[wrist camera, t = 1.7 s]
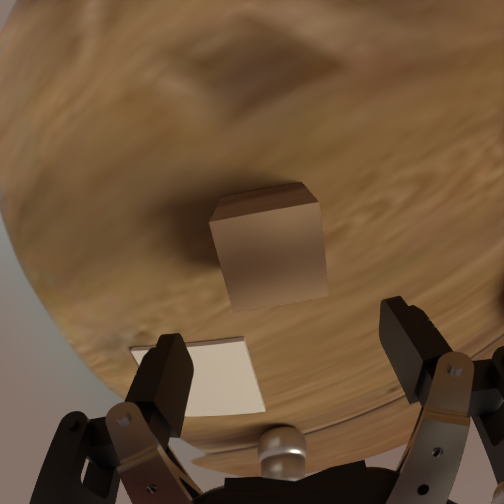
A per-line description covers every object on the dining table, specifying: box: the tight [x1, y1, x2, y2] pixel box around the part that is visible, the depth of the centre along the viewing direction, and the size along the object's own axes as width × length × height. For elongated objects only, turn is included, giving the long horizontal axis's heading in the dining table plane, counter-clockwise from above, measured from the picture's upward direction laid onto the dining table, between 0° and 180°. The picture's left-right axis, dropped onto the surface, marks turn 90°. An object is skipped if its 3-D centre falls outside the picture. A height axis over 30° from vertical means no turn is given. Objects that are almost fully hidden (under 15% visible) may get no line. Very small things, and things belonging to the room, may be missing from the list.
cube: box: [209, 182, 329, 312], centre depth 19 cm, size 6×6×6 cm
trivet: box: [131, 337, 266, 416], centre depth 29 cm, size 12×12×1 cm
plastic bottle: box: [257, 427, 307, 481], centre depth 24 cm, size 6×7×20 cm
